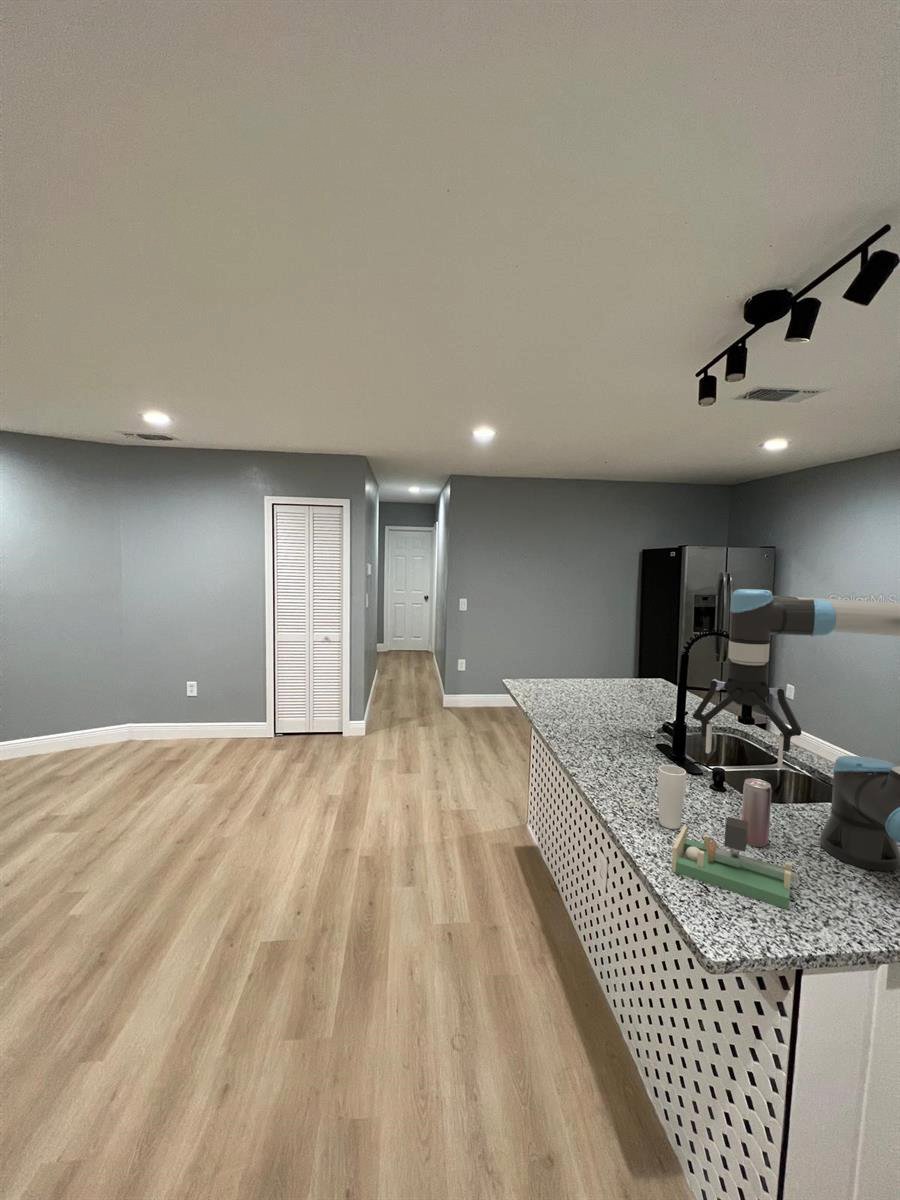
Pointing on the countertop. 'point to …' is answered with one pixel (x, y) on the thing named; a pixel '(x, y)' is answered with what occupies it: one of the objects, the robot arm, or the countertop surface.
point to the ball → (692, 853)
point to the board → (731, 873)
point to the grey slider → (738, 842)
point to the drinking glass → (671, 795)
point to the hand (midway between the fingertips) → (742, 758)
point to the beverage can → (757, 810)
